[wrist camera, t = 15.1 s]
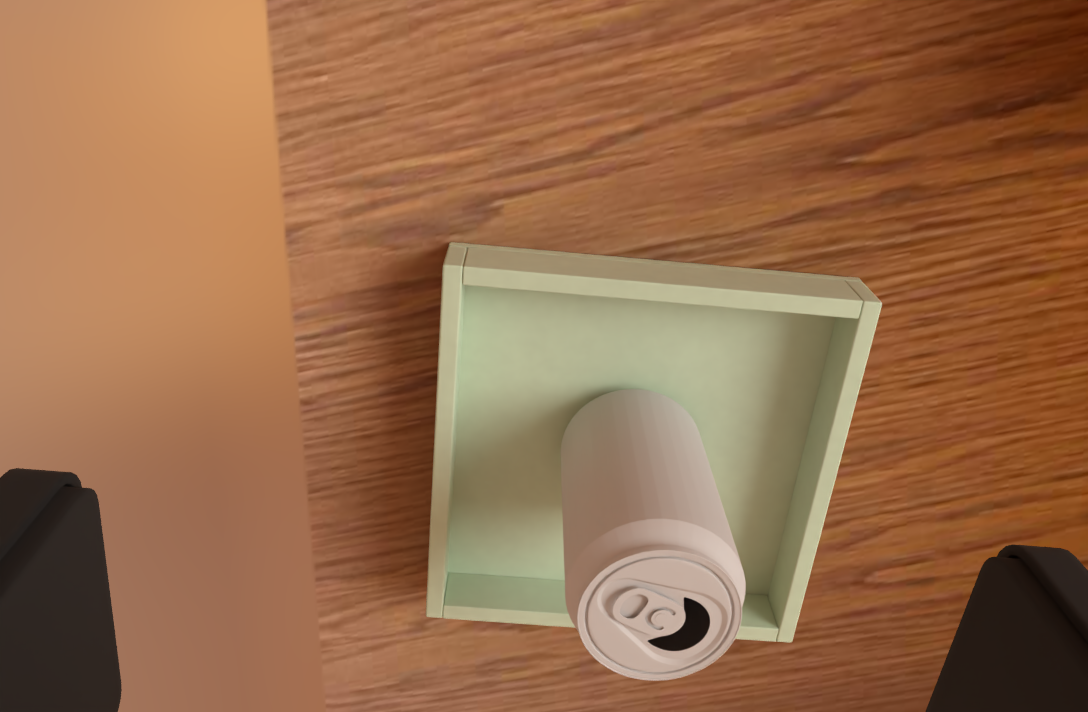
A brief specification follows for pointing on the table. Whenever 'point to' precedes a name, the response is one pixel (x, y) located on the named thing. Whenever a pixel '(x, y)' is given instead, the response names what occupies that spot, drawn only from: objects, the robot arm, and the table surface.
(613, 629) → the beverage can
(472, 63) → the table surface
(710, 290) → the tray
